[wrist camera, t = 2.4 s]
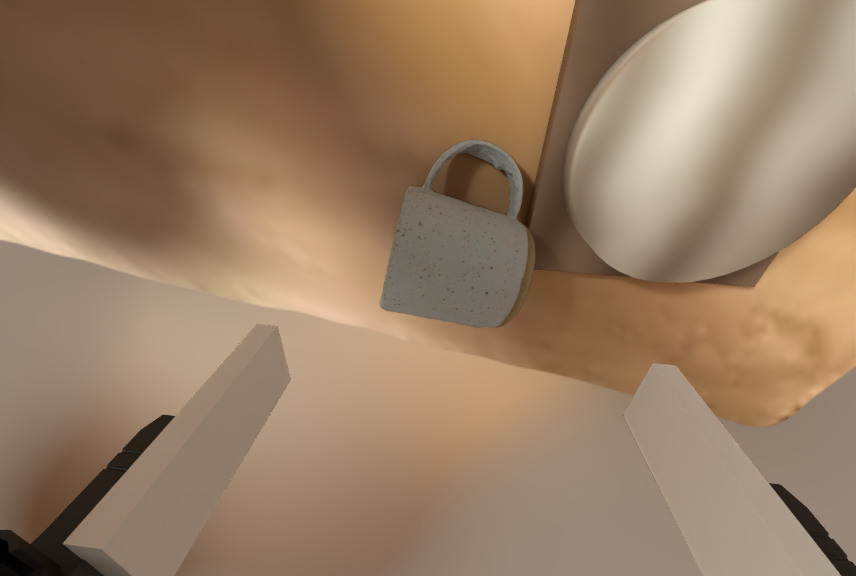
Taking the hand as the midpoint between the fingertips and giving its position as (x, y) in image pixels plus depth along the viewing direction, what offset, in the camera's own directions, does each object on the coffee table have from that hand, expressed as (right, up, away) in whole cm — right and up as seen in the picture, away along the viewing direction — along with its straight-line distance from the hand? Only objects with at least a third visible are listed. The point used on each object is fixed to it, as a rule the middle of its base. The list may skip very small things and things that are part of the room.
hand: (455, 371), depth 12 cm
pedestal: (+14, +11, +7) cm, 19 cm away
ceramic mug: (+1, +8, +11) cm, 14 cm away
